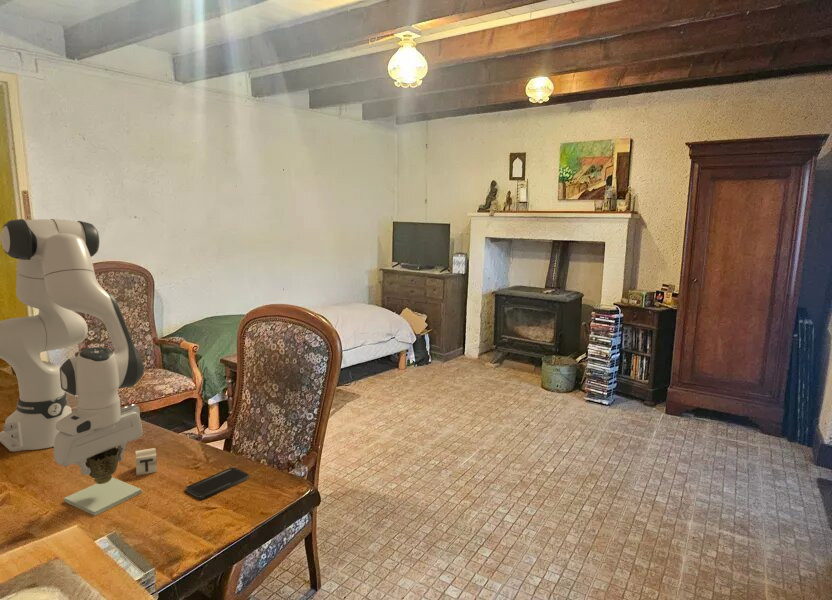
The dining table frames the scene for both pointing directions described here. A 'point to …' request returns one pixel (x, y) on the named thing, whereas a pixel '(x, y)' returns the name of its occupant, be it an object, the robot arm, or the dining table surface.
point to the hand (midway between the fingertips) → (102, 467)
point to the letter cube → (146, 461)
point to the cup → (103, 465)
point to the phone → (216, 483)
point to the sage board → (102, 496)
